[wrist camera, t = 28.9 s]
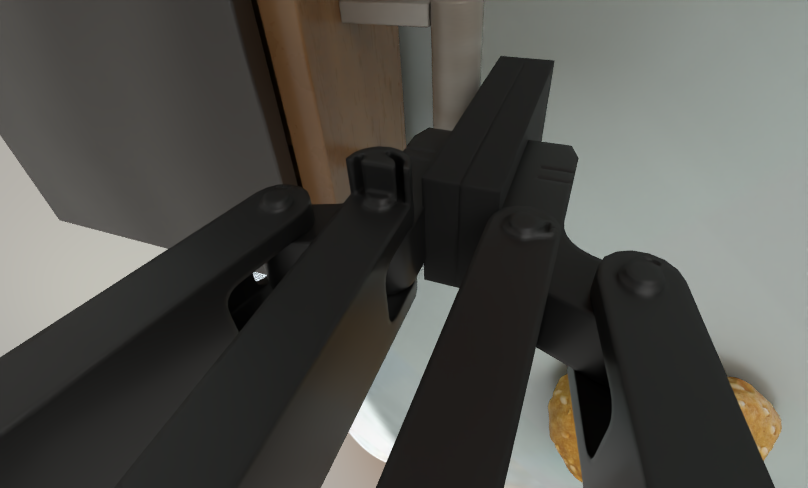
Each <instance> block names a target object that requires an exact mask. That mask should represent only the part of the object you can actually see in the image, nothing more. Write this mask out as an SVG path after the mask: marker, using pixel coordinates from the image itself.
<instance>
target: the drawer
mask: <svg viewBox="0 0 808 488" xmlns="http://www.w3.org/2000/svg"><path fill="white" fill-rule="evenodd" d="M251 2H252V6H253V10H254V14H255V18H256V22H257V26H258V30H259V33H260V37H261V41H262V45H263V49H264V53H265V57H266V61H267V65H268V69H269V73H270V77H271V81H272V85H273V89H274V93H275V97H276V101H277V105H278V108H279V112H280V116H281V120H282V124H283V128H284V132H285V136H286V140H287V144H288V148H289V152H290V156H291V160H292V164H293V168H294V172H295V176H296V180H297V183H298V186H300V187H302V188H303V189H305V190H306V191H308V194H309V196H310V199H311V203H312V204H339V203H344V202H345V200H346V199H347V198H348V197H349V195H350V194H351V191H350V185H349V178H348V171H347V165H346V158H347V157H348V156H350V155H351V154H352V153H354V152H356V151H359V150H361V149H364V148H370V147H376V146H382V147H392V148H396V149H399V150H402V151H403V150H404V149H406V135H405V120H404V105H403V90H402V75H401V60H400V45H399V30H398V26H410V27H429V26H430V25H431V47H432V90H433V128H436V129H443V130H450V131H452V130H453V129H454V127H455V125H456V124H457V122H458V121H459V119H460V118H461V116H462V115H463V113H464V112H465V110H466V108H467V107H468V105H469V104H470V102H471V101H472V99H473V98H474V96H475V95H476V93H477V92H478V90H479V88H480V80H481V59H482V37H483V15H484V0H251Z"/></svg>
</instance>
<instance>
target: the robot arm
mask: <svg viewBox="0 0 808 488" xmlns="http://www.w3.org/2000/svg"><path fill="white" fill-rule="evenodd" d="M553 67H554V61H553V60H542V59H530V58H518V57H507V56H500V58H499V59H498V61H497V62H496V64H495V65H494V67H493V68H492V70H491V72H490V73H489V75H488V76H487V78H486V79H485V81H484V82H483V84H482V85H481V87H480V88H479V90H478V92H477V93H476V95H475V96H474V98H473V99H472V101H471V102H470V104H469V105H468V107H467V108H466V110H465V112H464V113H463V115H462V116H461V118H460V119H459V121H458V122H457V124H456V125H455V127H454V129H453V130H452V131H450V130H443V129H436V128H428V129H426V130H424V131H422V132H420V133H419V134H417V135H415V136H414V137H413V139H412V140H411V141H410V143H409V144H408V145H407V147H406V149H404V150H403V151H402V150H399V149H396V148H392V147H382V146H376V147H370V148H364V149H361V150H359V151H356V152H354V153H352V154H351V155H350V156H348V157H347V158H346V165H347V171H348V178H349V185H350V191H351V194H350V195H349V197H348V198H347V199H346V200H345V202H344V203H339V204H312V203H311V199H310V196H309V194H308V191H306V190H305V189H303V188H302V187H300V186H296V185H292V184H280V185H275V186H271V187H267V188H264V189H262V190H260V191H258V192H256V193H255V194H253V195H251V196H250V197H248V198H247V199H245V200H244V201H242V202H241V203H239V204H238V205H236V206H234V207H233V208H231V209H230V210H228V211H227V212H225V213H224V214H222V215H220V216H219V217H217V218H216V219H214V220H213V221H211V222H210V223H208V224H206V225H205V226H203V227H202V228H200V229H199V230H197V231H196V232H194V233H193V234H191V235H189V236H188V237H186V238H185V239H183V240H182V241H180V242H179V243H177V244H175V245H174V246H172V247H171V248H169V249H168V250H166V251H165V252H163V253H162V254H160V255H158V256H157V257H155V258H154V259H152V260H151V261H149V262H148V263H146V264H144V265H143V266H141V267H140V268H138V269H137V270H135V271H134V272H132V273H130V274H129V275H127V276H126V277H124V278H123V279H121V280H120V281H118V282H116V283H115V284H113V285H112V286H110V287H109V288H107V289H106V290H104V291H103V292H101V293H100V294H98V295H96V296H95V297H93V298H92V299H90V300H89V301H87V302H85V303H84V304H83V305H81V306H79V307H78V308H76V309H75V310H73V311H72V312H70V313H69V314H67V315H65V316H64V317H62V318H61V319H59V320H57V321H56V322H54V323H53V324H51V325H50V326H48V327H47V328H45V329H44V330H42V331H40V332H39V333H37V334H36V335H34V336H33V337H31V338H30V339H28V340H27V341H25V342H23V343H22V344H20V345H19V346H17V347H16V348H14V349H12V350H11V351H10V352H8V353H6V354H5V355H3V356H2V357H0V488H321V486H322V484H323V482H324V480H325V478H326V476H327V474H328V472H329V470H330V468H331V466H332V464H333V462H334V459H335V458H336V456H337V454H338V452H339V450H340V448H341V446H342V444H343V442H344V439H345V438H346V436H347V434H348V432H349V430H350V428H351V426H352V423H353V421H354V419H355V417H356V415H357V413H358V411H359V409H360V407H361V405H362V403H363V401H364V399H365V397H366V395H367V393H368V391H369V389H370V387H371V385H372V383H373V381H374V379H375V377H376V375H377V373H378V371H379V369H380V367H381V365H382V363H383V361H384V359H385V357H386V355H387V353H388V351H389V349H390V347H391V345H392V343H393V341H394V339H395V337H396V335H397V333H398V331H399V329H400V327H401V325H402V323H403V321H404V319H405V317H406V315H407V313H408V311H409V309H410V307H411V305H412V303H413V301H414V299H415V297H416V292H417V275H418V273H419V271H420V269H421V268H422V266H423V264H424V279H425V280H429V281H433V282H437V283H441V284H445V285H449V286H453V287H458V288H459V291H458V293H457V295H456V298H455V300H454V303H453V305H452V307H451V310H450V312H449V314H448V317H447V319H446V322H445V324H444V326H443V329H442V331H441V334H440V336H439V338H438V341H437V343H436V345H435V348H434V350H433V353H432V355H431V357H430V360H429V362H428V365H427V367H426V369H425V372H424V374H423V376H422V379H421V381H420V384H419V386H418V388H417V391H416V393H415V396H414V398H413V400H412V403H411V405H410V408H409V410H408V412H407V415H406V417H405V419H404V422H403V424H402V427H401V429H400V431H399V434H398V436H397V439H396V441H395V443H394V446H393V448H392V450H391V453H390V455H389V458H388V460H387V462H386V465H385V467H384V470H383V472H382V475H381V477H380V479H379V481H378V484H377V486H376V488H504V485H505V480H506V476H507V472H508V467H509V463H510V458H511V454H512V450H513V445H514V441H515V436H516V432H517V428H518V423H519V419H520V414H521V410H522V406H523V401H524V397H525V392H526V388H527V384H528V379H529V375H530V370H531V366H532V362H533V357H534V353H535V349H536V347H537V348H539V349H540V350H542V351H544V352H545V353H547V354H549V355H550V356H552V357H554V358H556V359H557V360H559V361H561V362H562V363H564V364H566V365H567V366H568V368H567V373H568V380H569V387H570V394H571V401H572V409H573V416H574V423H575V430H576V438H577V445H578V452H579V459H580V466H581V474H582V481H583V488H775V487H774V484H773V482H772V480H771V477H770V475H769V473H768V470H767V468H766V466H765V464H764V461H763V459H762V457H761V454H760V452H759V450H758V447H757V445H756V443H755V440H754V438H753V436H752V433H751V431H750V429H749V426H748V424H747V422H746V419H745V417H744V415H743V412H742V410H741V408H740V405H739V403H738V401H737V398H736V396H735V394H734V391H733V389H732V387H731V384H730V382H729V380H728V377H727V375H726V373H725V370H724V368H723V366H722V363H721V361H720V359H719V357H718V354H717V352H716V350H715V347H714V345H713V343H712V340H711V338H710V336H709V333H708V331H707V329H706V326H705V324H704V322H703V319H702V317H701V315H700V312H699V310H698V308H697V305H696V303H695V301H694V298H693V296H692V294H691V291H690V289H689V287H688V284H687V282H686V280H685V279H684V278H683V276H682V275H681V273H680V272H679V271H678V270H677V269H676V268H675V267H673V266H672V265H671V264H669V263H668V262H667V261H665V260H663V259H661V258H658V257H656V256H654V255H651V254H649V253H643V252H637V251H619V252H615V253H612V254H610V255H608V256H605V257H604V258H603V260H601V259H599V258H597V257H595V256H592V255H590V254H588V253H587V252H585V251H583V250H581V249H580V248H578V247H577V246H576V245H575V244H573V243H572V242H571V240H570V239H569V238H568V237H567V235H566V232H565V230H564V220H565V216H566V211H567V207H568V202H569V198H570V194H571V189H572V185H573V180H574V176H575V171H576V167H577V162H578V157H577V155H576V153H575V151H574V149H573V148H572V146H569V145H562V144H554V143H547V142H541V141H542V134H543V128H544V122H545V116H546V110H547V104H548V97H549V91H550V85H551V79H552V73H553ZM262 265H263V266H264V268H265V271H266V274H267V276H266V277H265V278H263V279H262V280H260V281H255V279H254V276H253V274H252V273H253V272H255V271H256V270H257V269H259V268H260V267H261V266H262Z"/></svg>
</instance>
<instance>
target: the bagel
mask: <svg viewBox="0 0 808 488" xmlns="http://www.w3.org/2000/svg"><path fill="white" fill-rule="evenodd" d="M728 380H729V382H730V384H731V387H732V389H733V391H734V394H735V396H736V398H737V401H738V403H739V405H740V408H741V410H742V412H743V415H744V417H745V419H746V422H747V424H748V426H749V429H750V431H751V433H752V436H753V438H754V440H755V443H756V445H757V447H758V450H759V452H760V454H761V457H762V459H763V461H764V459H765V458H766V456H767V455H768V453H769V451H771V450H772V448H773V445H774V443H775V442H776V440H777V438H778V437H779V434H780V432H781V429H782V426H781V418H780V416H779V414H778V413H777V412H776V411H775V409H774V408H773V405H772V404H771V403H770V402H769V401H768V400H766V399H765V398H764V397H763V396H762V395H761V394H760V393H759V392H758V391H756V389H755V388H754V387H753V386H752V385H751V384H749V383H747V382H745V381H743V380H741V379H738V378H736V377H728ZM548 411H549V430H550V438H551V440H552V441H553V442H554V443H555V447H556V449H557V451H558V452H559V453H560V455H561V457H562V458H563V460H564V462H565V464H566V466H567V468H568V469H569V471H570V472H571V473H572V474H573V475H574V476H575V478H577V479H578V480H579V481H581V482H583V481H582V474H581V466H580V459H579V452H578V445H577V438H576V430H575V423H574V416H573V409H572V401H571V394H570V387H569V380H568V373H567V374H566V375H564V376H562V377H561V378H560V379H559V382H558V383H557V385H556V388H555V390H554V392H553V397H552V399H550V401H549V404H548Z"/></svg>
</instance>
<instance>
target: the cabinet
mask: <svg viewBox="0 0 808 488" xmlns="http://www.w3.org/2000/svg"><path fill="white" fill-rule="evenodd" d="M0 135H1V136H2V138H3V140H4V141H5V142H6V144H7V145H8V147H9V148H10V150H11V151H12V152H13V154H14V155H15V157H16V158H17V160H18V161H19V163H20V164H21V165H22V167H23V168H24V170H25V171H26V173H27V174H28V175H29V177H30V178H31V180H32V181H33V182H34V184H35V185H36V187H37V188H38V190H39V191H40V193H41V194H42V196H43V197H44V198H45V200H46V201H47V203H48V204H49V206H50V207H51V208H52V210H53V211H54V213H55V214H56V216H57V217H58V219H59V220H61V221H65V222H69V223H72V224H76V225H80V226H84V227H88V228H91V229H95V230H99V231H103V232H107V233H110V234H114V235H118V236H122V237H126V238H130V239H133V240H137V241H141V242H145V243H148V244H152V245H156V246H160V247H164V248H167V249H169V248H171V247H172V246H174V245H175V244H177V243H179V242H180V241H182V240H183V239H185V238H186V237H188V236H189V235H191V234H193V233H194V232H196V231H197V230H199V229H200V228H202V227H203V226H205V225H206V224H208V223H210V222H211V221H213V220H214V219H216V218H217V217H219V216H220V215H222V214H224V213H225V212H227V211H228V210H230V209H231V208H233V207H234V206H236V205H238V204H239V203H241V202H242V201H244V200H245V199H247V198H248V197H250V196H251V195H253V194H255V193H256V192H258V191H260V190H262V189H264V188H267V187H271V186H275V185H280V184H292V185H296V186H298V183H297V180H296V176H295V172H294V168H293V164H292V160H291V156H290V152H289V148H288V144H287V140H286V136H285V132H284V128H283V124H282V120H281V116H280V112H279V108H278V105H277V101H276V97H275V93H274V89H273V85H272V81H271V77H270V73H269V69H268V65H267V61H266V57H265V53H264V49H263V45H262V41H261V37H260V33H259V30H258V26H257V22H256V18H255V14H254V10H253V6H252V2H251V0H0ZM255 272H259V273H262V274H266V271H265V268H264V266H263V265H262V266H261V267H260V268H259V269H257V270H256V271H255ZM266 275H267V274H266Z"/></svg>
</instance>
